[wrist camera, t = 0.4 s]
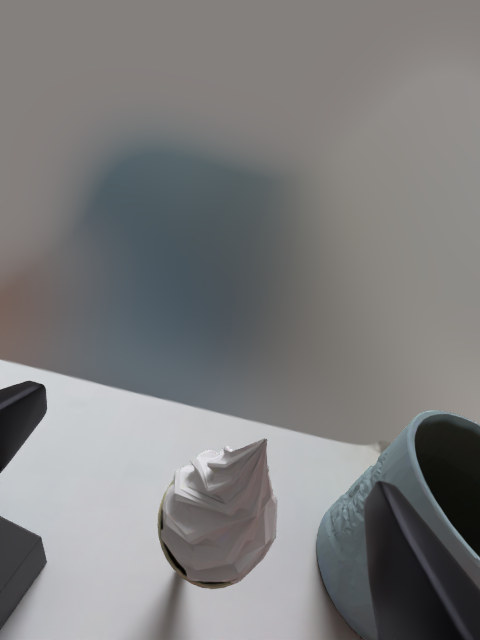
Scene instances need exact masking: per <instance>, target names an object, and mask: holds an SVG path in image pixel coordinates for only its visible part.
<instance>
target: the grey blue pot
mask: <svg viewBox="0 0 480 640" xmlns="http://www.w3.org/2000/svg"><path fill="white" fill-rule="evenodd" d="M377 481H384V482H388V483H391V484H394V485H395V486H396V487H397V488H398V489H399V490H400V491H401V492H402V494H403V495H404V496H405V497H406V499H407V500H408V501H409V502H410V504H411V505H412V506H413V507H414V508H415V510H416V511H417V512H418V513H419V515H420V516H421V517H422V518H423V520H424V521H425V522H426V523H427V525H428V526H429V527H430V528H431V529H432V531H433V532H434V533H435V534H436V536H437V537H438V538H439V539H440V541H441V542H442V543H443V544H444V545H445V547H446V548H447V549H448V550H449V552H450V553H451V554H452V555H453V557H454V558H455V559H456V560H457V562H458V563H459V564H460V565H461V566H462V568H463V569H464V570H465V571H466V573H467V574H468V575H469V576H470V578H471V579H472V580H473V581H474V583H475V584H476V585H477V586H478V587H479V589H480V424H478V423H475V422H474V421H472V420H470V419H467V418H465V417H463V416H460V415H456V414H453V413H450V412H444V411H426V412H423V413H420V414H419V415H417V416H416V417H415V418H414V419H413V420H412V421H411V422H410V423H409V425H408V426H407V427H406V428H405V429H404V430H403V431H402V432H401V433H400V435H399V436H398V437H397V438H396V439H395V440H394V441H393V442H392V443H391V444H390V445H389V446H388V447H387V448H386V450H385V451H384V452H383V453H382V454H381V455H380V456H379V458H378V461H377V463H376V464H375V465H374V466H370V467H369V468H368V469H367V470H366V471H365V472H364V473H363V474H362V475H361V476H360V478H359V479H358V480H357V481H356V482H355V483H354V484H353V485H352V486H351V487H350V488H349V490H348V491H347V492H346V493H345V494H344V495H342V496H341V497H340V498H339V499H338V500H337V501H336V502H335V503H334V504H333V505H332V506H331V507H330V509H329V510H328V511H327V512H326V513H325V515H324V517H323V519H322V521H321V524H320V527H319V531H318V535H317V557H318V564H319V568H320V572H321V576H322V579H323V582H324V584H325V587H326V589H327V591H328V593H329V596H330V598H331V600H332V602H333V603H334V605H335V607H336V609H337V610H338V611H339V613H340V614H341V616H342V617H343V618H344V620H345V621H346V622H347V623H348V624H349V626H350V627H351V628H352V629H353V630H354V631H355V632H356V633H357V634H358V635H359V636H361V637H362V638H363V639H365V640H378V638H377V631H376V625H375V619H374V613H373V607H372V601H371V594H370V588H369V580H368V570H367V556H366V541H365V526H364V511H363V508H364V502H365V499H366V498H367V496H368V494H369V493H370V491H371V489H372V487H373V486H374V484H375V483H376V482H377Z"/></svg>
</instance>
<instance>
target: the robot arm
mask: <svg viewBox="0 0 480 640" xmlns="http://www.w3.org/2000/svg"><path fill="white" fill-rule="evenodd" d="M46 411H47V400H46V388H45V386H44V385H43V384H40V383H36V382H32V381H26V382H23V383H20V384H16V385H13V386H10V387H7V388H4V389H1V390H0V473H1V472H2V471H3V469H4V468H5V467H6V466H7V465H8V463H9V462H10V461H11V460H12V458H13V457H14V456H15V454H16V453H17V452H18V450H19V449H20V448H21V446H22V445H23V444H24V442H25V441H26V440H27V438H28V437H29V436H30V434H31V433H32V432H33V430H34V429H35V428H36V426H37V425H38V424H39V423H40V421H41V420H42V419H43V417H44V415H45V414H46ZM363 511H364V526H365V541H366V556H367V570H368V580H369V588H370V594H371V601H372V607H373V613H374V619H375V625H376V631H377V638H378V640H480V589H479V587H478V586H477V585H476V584H475V583H474V581H473V580H472V579H471V578H470V576H469V575H468V574H467V573H466V571H465V570H464V569H463V568H462V566H461V565H460V564H459V563H458V562H457V560H456V559H455V558H454V557H453V555H452V554H451V553H450V552H449V550H448V549H447V548H446V547H445V545H444V544H443V543H442V542H441V541H440V539H439V538H438V537H437V536H436V534H435V533H434V532H433V531H432V529H431V528H430V527H429V526H428V525H427V523H426V522H425V521H424V520H423V518H422V517H421V516H420V515H419V513H418V512H417V511H416V510H415V508H414V507H413V506H412V505H411V504H410V502H409V501H408V500H407V499H406V497H405V496H404V495H403V494H402V492H401V491H400V490H399V489H398V488H397V487H396V486H395V485H394V484H391V483H388V482H384V481H377V482H376V483H375V484H374V486H373V487H372V489H371V491H370V493H369V494H368V496H367V498H366V499H365V502H364V508H363Z"/></svg>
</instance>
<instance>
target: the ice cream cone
mask: <svg viewBox="0 0 480 640" xmlns="http://www.w3.org/2000/svg"><path fill="white" fill-rule="evenodd" d="M266 446H267V439H266V440H265V439H262V440H260V441H258V442H255V443H253V444H250V445H248V446H245V447H244V448H241V449H238V450H235V451H234V450H232V449H231V448H229V447H227V446H225V447H224V448H222V450H221V451H220V453H219V454H218V453H216V452H214V451H213V450H208V449H207V450H205V451H204V452H202V453H200V454H199V455H197V456H196V457H194V458H193V459H192V460H191V461H190V462H191V463H192V464H190V465H186V466H183V467H182V468H180V469H179V470H177V471H176V472H175V475H174V480H173V481H172V483H171V484H170V485H169V487H168V488H167V490H166V492H165V493H164V496H163V499H162V501H161V504H160V509H159V513H158V534H159V540H160V543H161V547H162V550H163V552H164V554H165V557H166V559H167V560H168V562H169V563H170V565H171V566H172V568H173V569H174V570H175V571H176V572H177V573H178V574H179V575H180V576H181V577H182V578H184V579H185V580H187V581H188V582H190V583H191V584H194V585H197V586H199V587H202V588H210V589H216V588H224V587H227V586H230V585H232V584H234V583H237V582H239V581H241V580H242V579H243V578H244V577H245V576H246V575H247V574H248V573H249V572H250V571H251V570H252V569H253V568H254V567H255V566H256V565H257V564H258V563H259V562H260V561H261V560H262V559H263V558H264V557H265V555H266V553H267V551H268V550H269V548H270V546H271V545H272V543H273V541H274V539H275V538H276V518H277V500H276V497H275V495H274V494H273V489H272V486H271V482H270V478H269V474H268V472H269V467H268V465H267V454H266Z"/></svg>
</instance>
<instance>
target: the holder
mask: <svg viewBox="0 0 480 640" xmlns="http://www.w3.org/2000/svg"><path fill="white" fill-rule="evenodd" d="M46 562H47V561H46V557H45V552H44V548H43V543H42V539H41V537H40V536H38V535H36V534H34V533H32V532H30V531H28V530H26V529H24V528H22V527H20V526H19V525H17V524H15V523H13V522H11V521H9V520H7V519H5V518H3V517H1V516H0V629H1V628H2V627H3V625H4V624H5V622H6V621H7V619H8V618H9V616H10V615H11V613H12V612H13V611H14V609H15V608H16V606H17V605H18V603H19V602H20V600H21V599H22V597H23V596H24V595H25V593H26V592H27V590H28V589H29V587H30V586H31V584H32V583H33V581H34V580H35V579H36V577H37V576H38V574H39V573H40V571H41V570H42V568H43V567H44V565H45V564H46Z"/></svg>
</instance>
